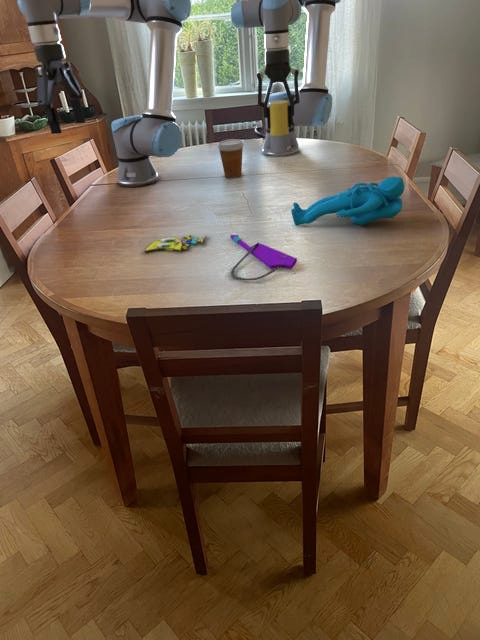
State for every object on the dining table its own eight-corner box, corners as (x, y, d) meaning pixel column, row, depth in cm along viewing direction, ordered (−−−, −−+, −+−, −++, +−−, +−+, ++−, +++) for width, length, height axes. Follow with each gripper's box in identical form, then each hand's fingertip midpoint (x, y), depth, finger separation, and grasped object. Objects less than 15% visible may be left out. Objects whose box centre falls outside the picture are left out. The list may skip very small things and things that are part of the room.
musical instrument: (273, 292, 106) (311, 246, 118) (271, 284, 105) (310, 238, 117) (189, 277, 119) (231, 237, 131) (186, 270, 118) (230, 230, 130)
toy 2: (294, 191, 141) (400, 164, 130) (303, 224, 146) (406, 201, 135) (286, 212, 127) (404, 184, 117) (296, 248, 132) (410, 224, 122)
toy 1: (199, 248, 125) (143, 249, 127) (199, 251, 125) (144, 252, 127) (206, 233, 133) (154, 234, 135) (206, 236, 133) (154, 237, 136)
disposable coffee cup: (216, 178, 179) (213, 145, 172) (226, 170, 186) (223, 138, 180) (240, 179, 176) (237, 145, 169) (249, 171, 183) (247, 139, 176)
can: (277, 136, 160) (276, 104, 154) (266, 134, 164) (265, 102, 159) (292, 133, 162) (292, 101, 157) (281, 130, 167) (280, 99, 161)
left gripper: (33, 46, 117) (57, 137, 128) (82, 39, 137) (100, 118, 149) (6, 49, 119) (33, 138, 130) (59, 41, 139) (78, 119, 150)
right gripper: (245, 52, 147) (250, 131, 160) (308, 47, 145) (308, 127, 158) (246, 50, 154) (251, 126, 166) (307, 45, 152) (307, 122, 164)
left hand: (69, 128), depth 139 cm, fingers open, 13 cm apart
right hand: (279, 127), depth 162 cm, fingers closed on can, 6 cm apart
